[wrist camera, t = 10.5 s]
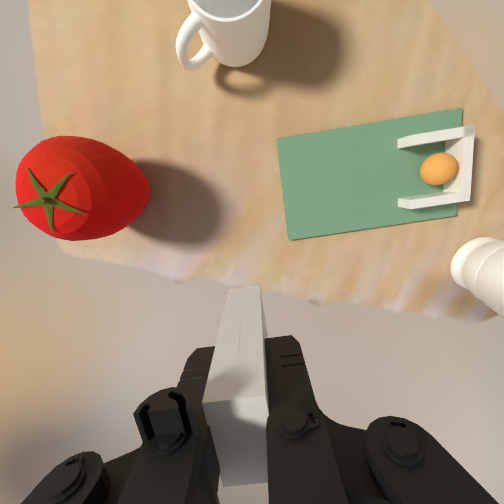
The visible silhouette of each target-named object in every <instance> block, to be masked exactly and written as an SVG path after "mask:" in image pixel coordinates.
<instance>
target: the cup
mask: <svg viewBox="0 0 504 504" xmlns="http://www.w3.org/2000/svg"><path fill="white" fill-rule="evenodd" d="M187 1H188V4H189V6H190V9H191V12H192V14H191V15H190V16H189V17H188V18H187V20H186V21H185V22H184V24H183V25H182V27H181V29H180V31H179V33H178V36H177V40H176V52H177V56H178V59H179V62H180V63H181V65H182V66H183V67H184V68H185V69H186V70H189V71H194V70H197V69H199V68H200V67H202V66H203V65H204V64H205V63H206V62H207V61H208V60H209V59H210V58H211V57H213V58H214V59H215V60H216V61H218V62H219V63H221V64H223V65H226V66H230V67H240V66H244V65H246V64H248V63H250V62H252V61H253V60H254V59H255V58H256V57H257V56H258V55H259V54H260V52H261V51H262V49H263V47H264V45H265V42H266V39H267V35H268V29H269V19H270V8H271V0H187ZM198 31H199V33H200V36H201V39H202V41H203V43H204V46H203V47H202V48H201V50H200V51H199V52H198V54H197V55H196V56H195V57H194V58H192V59H189V58H188V55H187V47H188V44H189V42H190V40H191V39H192V38H193V37H194V35H195V34H196V33H197V32H198Z"/></svg>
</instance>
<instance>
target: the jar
mask: <svg viewBox="0 0 504 504" xmlns="http://www.w3.org/2000/svg"><path fill="white" fill-rule="evenodd" d="M450 270H451V275H452V278H453V280H454V281H455V282H456V283H457V284H458V285H459V286H461V287H463V288H466V289H469V291H470V292H471V293H472V294H473V295H474V296H475V297H477V298H478V299H479V300H480V301H482V302H483V303H485V304H486V305H487V306H488V307H489V308H491V309H492V310H493V311H495V312H496V313H498V314H499V315H501V316H502V317H504V240H499V239H496V238H493V237H480V238H476V239H473V240H471V241H469V242H467V243H466V244H464V245H463V246H462V247H461V248H460V249H459V250H458V251H457V252H456V254H455V255H454V257H453V259H452V262H451V268H450Z"/></svg>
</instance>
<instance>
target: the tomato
mask: <svg viewBox="0 0 504 504" xmlns="http://www.w3.org/2000/svg"><path fill="white" fill-rule="evenodd" d="M16 195H17V200H18V203H19V205H18V206H15V207H13V208H21V210H22V212H23V214H24V215H25V217H26V218H27V219H28V220H29V221H30V222H31V223H32V224H33V225H35V226H36V227H37V228H39V229H40V230H42V231H44V232H45V233H46V234H49V235H50V236H53V237H55V238H59V239H64V240H70V241H78V240H90V239H98V238H102V237H105V236H109V235H112V234H114V233H116V232H118V231H120V230H122V229H123V228H125V227H127V226H128V225H129V224H131V223H132V222H133V221H134V220H135V219H136V218H137V217H138V216H139V215H140V214H141V213H142V212H143V210H144V209H145V207H146V205H147V204H148V202H149V199H150V187H149V183H148V180H147V178H146V177H145V175H144V173H143V172H142V171H141V170H140V168H139V167H138V166H137V165H136V164H135V163H134V162H133V161H132V160H130V159H129V158H128V157H126V156H125V155H124V154H122V153H121V152H119V151H117V150H115V149H113V148H112V147H110V146H108V145H106V144H104V143H101V142H99V141H96V140H93V139H88V138H83V137H75V136H57V137H52V138H49V139H46V140H43V141H41V142H40V143H39V144H37V145H36V146H35V147H33V148H32V149H31V150H30V151H29V152H28V153H27V154H26V155H25V157H24V158H23V159H22V161H21V162H20V164H19V166H18V169H17V173H16Z"/></svg>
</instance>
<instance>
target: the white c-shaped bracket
mask: <svg viewBox="0 0 504 504" xmlns="http://www.w3.org/2000/svg"><path fill="white" fill-rule="evenodd" d="M474 132H475V125H469V126H463V127H457V128H451V129H445V130H439V131H433V132H427V133H420V134H414V135H410V136H406V137H403V138H400V139H398V149H399V148H405V147H411V146H417V145H424V144H430V143H436V142H442V141H445V153H448V154H451V155H452V156H454V157H455V158H456V160H457V162H458V170H457V173H456V174H455V176H454V177H453V178H452V179H451V180H450V181H448V182H446V183H444V184H443V192H436V193H430V194H423V195H417V196H410V197H404V198H398V207H401V208H407V209H416V208H423V207H430V206H436V205H443V204H450V203H456V202H463V201H470V192H471V177H472V162H473V147H474Z"/></svg>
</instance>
